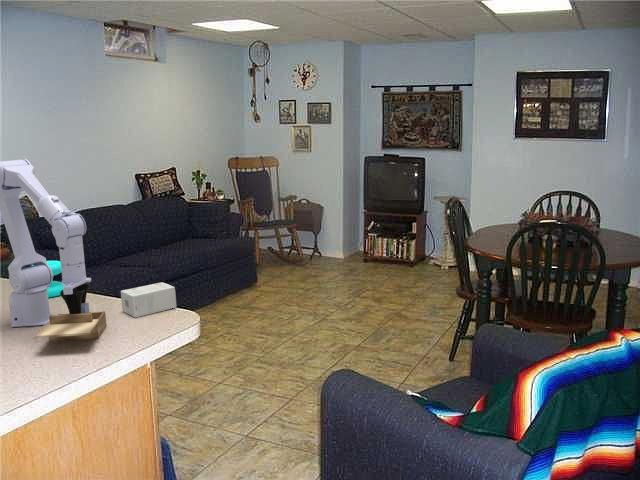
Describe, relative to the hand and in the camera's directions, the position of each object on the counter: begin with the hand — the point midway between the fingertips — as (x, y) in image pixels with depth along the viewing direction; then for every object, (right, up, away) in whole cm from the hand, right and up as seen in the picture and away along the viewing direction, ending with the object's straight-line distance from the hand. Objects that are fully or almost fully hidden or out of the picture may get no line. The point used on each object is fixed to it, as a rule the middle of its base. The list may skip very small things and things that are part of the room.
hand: (77, 314), depth 173 cm
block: (0, -2, 0) cm, 2 cm away
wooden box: (0, -5, 0) cm, 5 cm away
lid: (+1, -3, -10) cm, 10 cm away
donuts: (-22, +2, +37) cm, 43 cm away
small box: (+9, +1, +14) cm, 16 cm away
